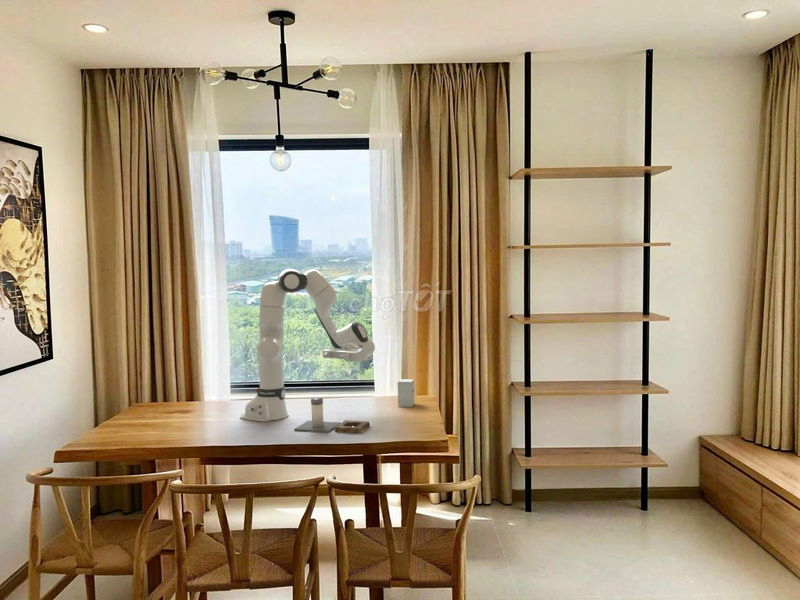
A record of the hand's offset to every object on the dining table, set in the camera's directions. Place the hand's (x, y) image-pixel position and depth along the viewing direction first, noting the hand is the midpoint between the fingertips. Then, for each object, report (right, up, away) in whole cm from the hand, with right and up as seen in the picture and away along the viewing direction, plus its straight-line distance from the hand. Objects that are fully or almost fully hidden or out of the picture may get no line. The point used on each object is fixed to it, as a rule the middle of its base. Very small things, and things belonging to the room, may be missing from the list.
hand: (332, 356), depth 286 cm
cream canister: (-6, -30, -6) cm, 31 cm away
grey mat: (-6, -31, -6) cm, 32 cm away
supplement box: (+34, -27, +30) cm, 53 cm away
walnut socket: (+10, -31, -10) cm, 34 cm away
